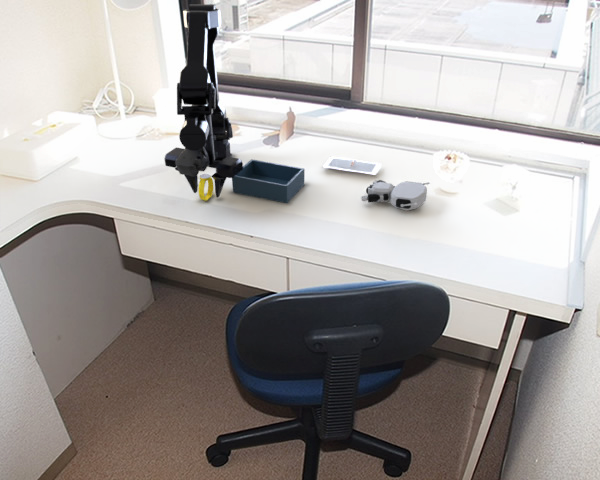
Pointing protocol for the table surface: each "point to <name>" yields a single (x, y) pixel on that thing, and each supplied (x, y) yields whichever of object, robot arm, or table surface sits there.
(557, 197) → the table surface
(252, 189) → the organiser tray
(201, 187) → the watch
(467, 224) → the table surface
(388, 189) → the robot toy
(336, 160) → the touchpad
